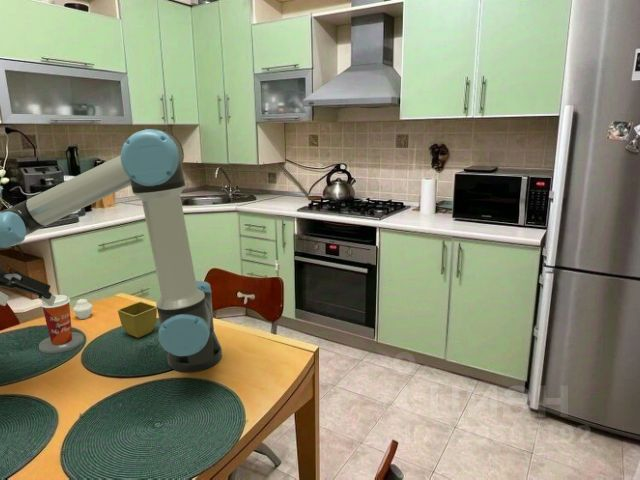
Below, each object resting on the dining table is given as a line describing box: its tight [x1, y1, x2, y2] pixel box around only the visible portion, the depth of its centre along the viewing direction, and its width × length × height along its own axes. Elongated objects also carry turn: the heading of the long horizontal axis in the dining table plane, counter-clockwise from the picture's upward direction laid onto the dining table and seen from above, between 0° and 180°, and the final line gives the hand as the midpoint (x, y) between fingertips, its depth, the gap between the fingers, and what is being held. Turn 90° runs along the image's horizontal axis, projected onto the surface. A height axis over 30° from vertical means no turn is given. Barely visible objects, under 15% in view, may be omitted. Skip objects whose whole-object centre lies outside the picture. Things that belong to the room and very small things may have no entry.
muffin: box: [72, 298, 94, 320], centre depth 157 cm, size 6×6×7 cm
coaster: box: [38, 331, 84, 355], centre depth 138 cm, size 12×12×1 cm
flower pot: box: [117, 301, 158, 339], centre depth 143 cm, size 9×9×9 cm
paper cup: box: [40, 294, 73, 345], centre depth 136 cm, size 8×8×14 cm
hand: (29, 301), depth 123 cm, fingers open, 13 cm apart
